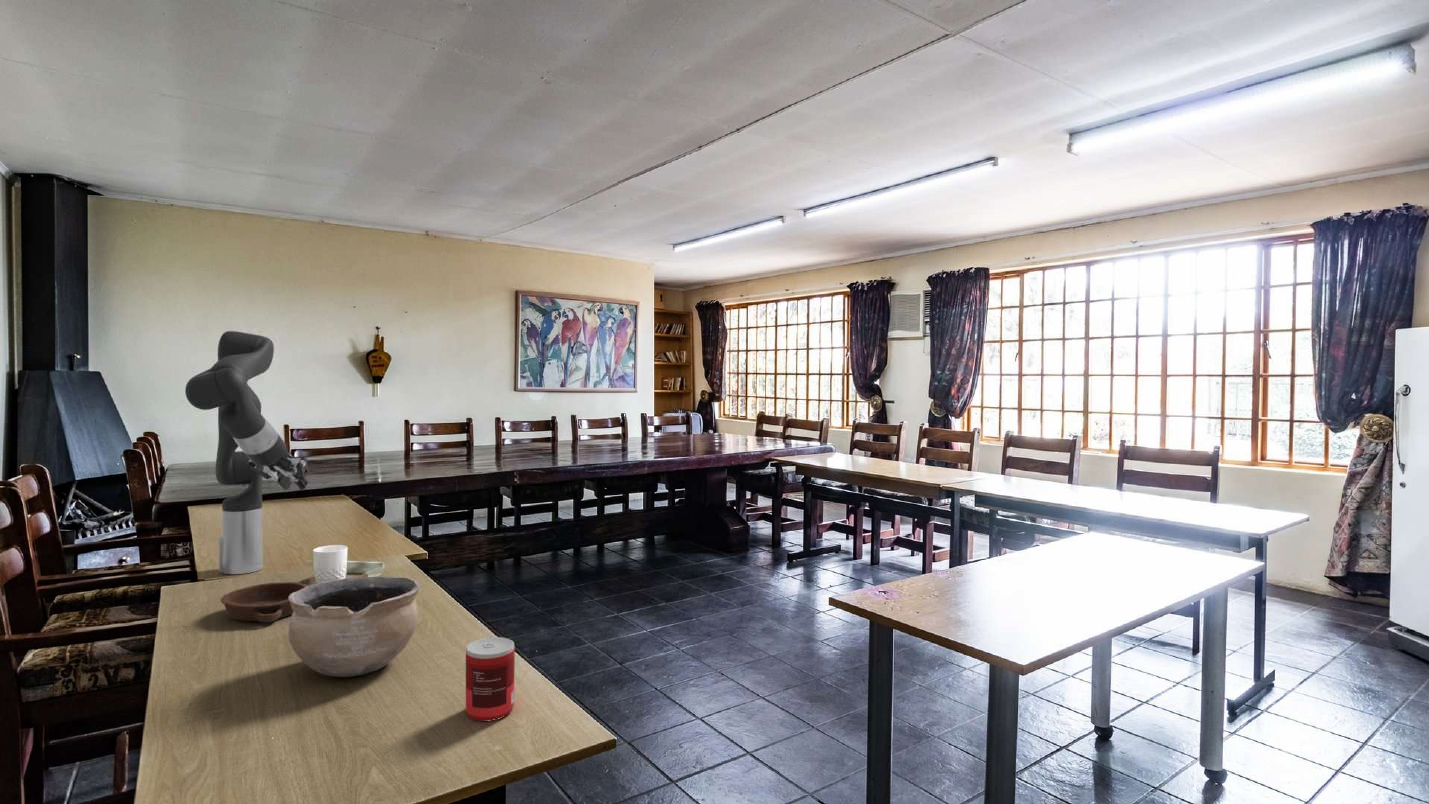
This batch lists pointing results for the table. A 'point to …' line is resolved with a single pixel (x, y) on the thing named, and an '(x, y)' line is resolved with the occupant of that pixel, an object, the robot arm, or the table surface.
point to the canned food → (490, 678)
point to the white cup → (330, 563)
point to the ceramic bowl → (353, 623)
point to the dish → (261, 601)
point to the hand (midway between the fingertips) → (296, 486)
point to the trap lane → (355, 570)
